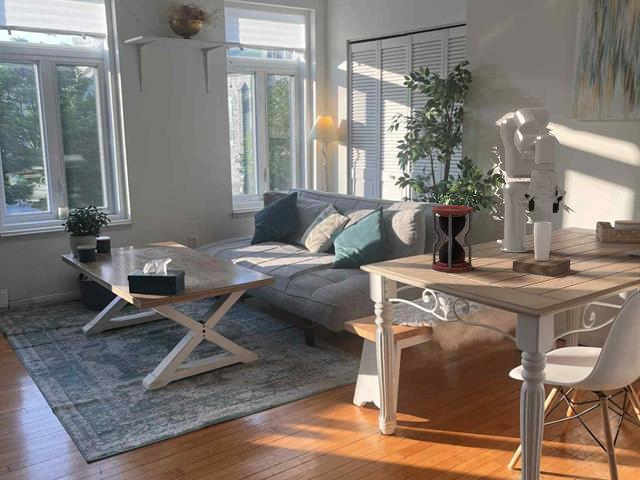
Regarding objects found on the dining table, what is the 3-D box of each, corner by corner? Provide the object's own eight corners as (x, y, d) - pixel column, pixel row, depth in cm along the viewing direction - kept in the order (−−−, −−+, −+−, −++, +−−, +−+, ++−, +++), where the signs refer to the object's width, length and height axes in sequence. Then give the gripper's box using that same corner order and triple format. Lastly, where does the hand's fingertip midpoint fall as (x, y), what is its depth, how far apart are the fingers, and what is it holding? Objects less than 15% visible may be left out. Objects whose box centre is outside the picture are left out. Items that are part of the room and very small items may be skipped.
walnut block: (512, 270, 248) (512, 260, 248) (532, 264, 259) (532, 254, 259) (551, 276, 237) (551, 266, 236) (570, 269, 248) (570, 259, 247)
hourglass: (470, 273, 246) (471, 210, 241) (428, 271, 251) (429, 209, 246) (473, 265, 261) (474, 205, 256) (434, 263, 266) (435, 204, 261)
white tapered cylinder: (550, 259, 249) (552, 221, 247) (550, 262, 243) (552, 224, 241) (532, 258, 252) (534, 221, 249) (532, 261, 245) (533, 223, 243)
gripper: (519, 167, 245) (517, 211, 248) (562, 169, 232) (560, 214, 236) (528, 166, 250) (527, 209, 253) (571, 167, 238) (569, 212, 241)
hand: (543, 211), depth 244 cm, fingers open, 9 cm apart
